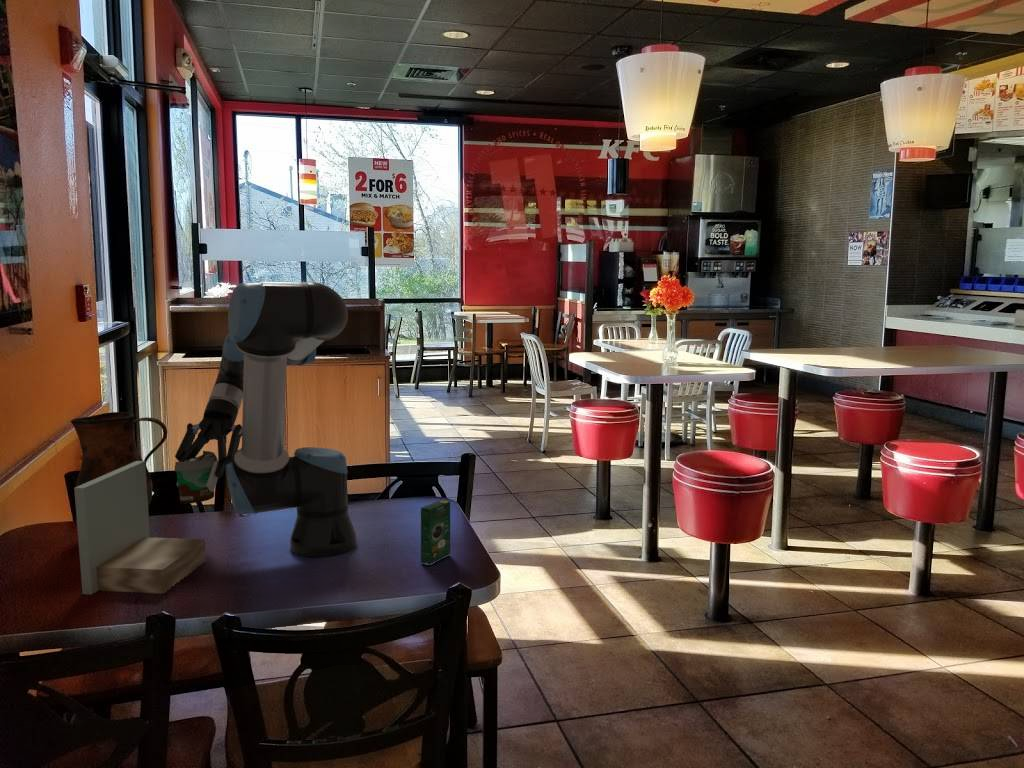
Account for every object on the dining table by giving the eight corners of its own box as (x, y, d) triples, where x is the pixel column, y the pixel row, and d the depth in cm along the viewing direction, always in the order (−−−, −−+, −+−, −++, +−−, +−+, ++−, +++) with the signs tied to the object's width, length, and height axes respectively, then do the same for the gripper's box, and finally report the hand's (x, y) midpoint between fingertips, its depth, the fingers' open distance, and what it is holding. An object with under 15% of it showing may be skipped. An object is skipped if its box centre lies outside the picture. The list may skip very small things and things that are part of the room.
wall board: (151, 555, 182) (145, 461, 178) (92, 594, 160) (83, 488, 157) (142, 554, 182) (136, 460, 178) (82, 594, 160) (74, 487, 157)
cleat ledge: (206, 560, 178) (204, 539, 178) (163, 593, 161) (162, 569, 160) (146, 558, 180) (145, 537, 179) (98, 590, 162) (96, 566, 161)
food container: (201, 506, 180) (198, 463, 179) (176, 505, 181) (173, 462, 180) (229, 491, 192) (227, 451, 191) (206, 490, 193) (204, 450, 192)
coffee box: (441, 553, 184) (440, 498, 182) (451, 555, 182) (451, 500, 180) (419, 564, 177) (419, 507, 175) (430, 567, 175) (429, 509, 173)
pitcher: (89, 527, 200) (81, 410, 196) (180, 522, 205) (173, 407, 200) (67, 550, 184) (57, 423, 180) (166, 544, 189) (158, 419, 184)
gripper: (266, 415, 199) (241, 497, 185) (191, 414, 201) (161, 495, 187) (256, 397, 193) (230, 480, 179) (179, 396, 195) (147, 478, 181)
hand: (195, 488), depth 183 cm, fingers closed on food container, 6 cm apart
